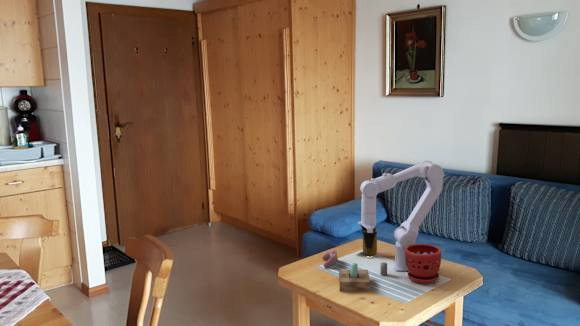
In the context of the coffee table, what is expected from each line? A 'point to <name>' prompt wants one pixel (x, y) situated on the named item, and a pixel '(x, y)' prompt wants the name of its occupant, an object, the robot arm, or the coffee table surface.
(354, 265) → the long pin
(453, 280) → the coffee table surface
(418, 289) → the coffee table surface
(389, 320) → the coffee table surface
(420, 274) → the plant pot
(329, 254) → the pink curved piece
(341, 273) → the hole block
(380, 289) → the coffee table surface
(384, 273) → the short pin
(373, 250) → the condiment
